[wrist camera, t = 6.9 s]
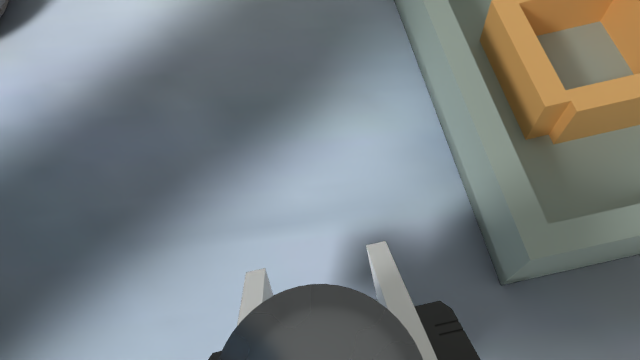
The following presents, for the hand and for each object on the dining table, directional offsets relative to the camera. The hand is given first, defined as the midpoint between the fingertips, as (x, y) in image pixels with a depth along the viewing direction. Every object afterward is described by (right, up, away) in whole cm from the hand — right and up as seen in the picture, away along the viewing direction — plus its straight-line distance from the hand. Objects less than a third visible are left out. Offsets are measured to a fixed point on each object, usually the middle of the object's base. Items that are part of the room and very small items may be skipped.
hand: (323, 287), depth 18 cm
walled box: (+14, +10, +8) cm, 19 cm away
